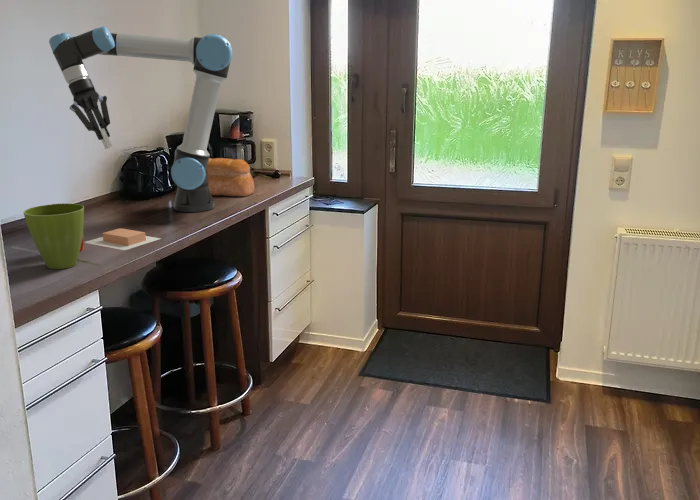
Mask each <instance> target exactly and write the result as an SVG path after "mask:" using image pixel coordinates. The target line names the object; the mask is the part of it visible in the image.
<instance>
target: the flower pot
mask: <svg viewBox="0 0 700 500" xmlns="http://www.w3.org/2000/svg"><path fill="white" fill-rule="evenodd" d="M23 215H24V220H25V222H26V225H27V228H28V231H29V233H30V236H31V238H32V240H33V243H34V244H35V247H36V249H37V250H38V253H39V254H40V256H41V259H42V260H43V262H44V263H45V265H46V266H47V268H48V269H50V270H63V269H69V268H72V267H74V266H76V265H77V263H78V260H79V255H80V253H81V252H80V248H81V242H82V235H83V236H84V223H85V222H84V221H85V220H84V219H85V206H84V205H82V204H80V203H79V204H78V203H52V204H45V205H38V206H33V207H29V208H26V209H25V210H24V211H23Z"/></svg>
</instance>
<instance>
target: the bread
mask: <svg viewBox="0 0 700 500" xmlns="http://www.w3.org/2000/svg"><path fill="white" fill-rule="evenodd" d="M207 170H208V186H209V190H210V193H211V195H212V196H226V197H247V196H251V195H252V194H254V193H255V187H256V186H255V181H254V177H253V176H252V174H251V167H250V165H249V163H248V162H246V160H244V159H241V158H237V159H233V158H228V157H227V158H224V157H216V158H214V157H213V158H211V157H209V161H208V165H207Z"/></svg>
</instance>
